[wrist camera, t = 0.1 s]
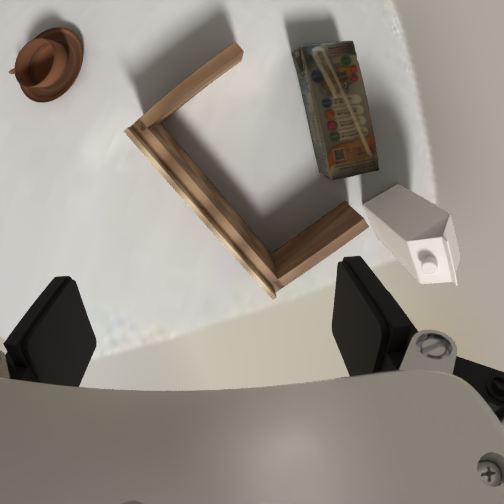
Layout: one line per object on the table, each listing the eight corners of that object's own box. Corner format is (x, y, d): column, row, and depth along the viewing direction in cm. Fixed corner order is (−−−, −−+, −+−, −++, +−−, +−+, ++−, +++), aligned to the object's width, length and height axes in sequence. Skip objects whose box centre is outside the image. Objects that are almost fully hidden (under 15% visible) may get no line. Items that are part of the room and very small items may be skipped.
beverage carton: (341, 45, 39) (357, 37, 33) (365, 164, 47) (383, 173, 41) (289, 52, 39) (299, 44, 33) (318, 175, 47) (330, 185, 41)
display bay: (143, 126, 42) (123, 131, 34) (234, 53, 38) (235, 39, 30) (266, 268, 53) (272, 299, 44) (349, 208, 49) (372, 230, 41)
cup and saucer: (35, 115, 39) (14, 118, 34) (18, 55, 34) (-3, 52, 28) (96, 79, 38) (78, 76, 33) (77, 16, 33) (59, 7, 28)
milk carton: (397, 182, 48) (469, 225, 31) (410, 218, 51) (477, 270, 34) (361, 203, 49) (422, 256, 32) (377, 239, 52) (435, 300, 35)
